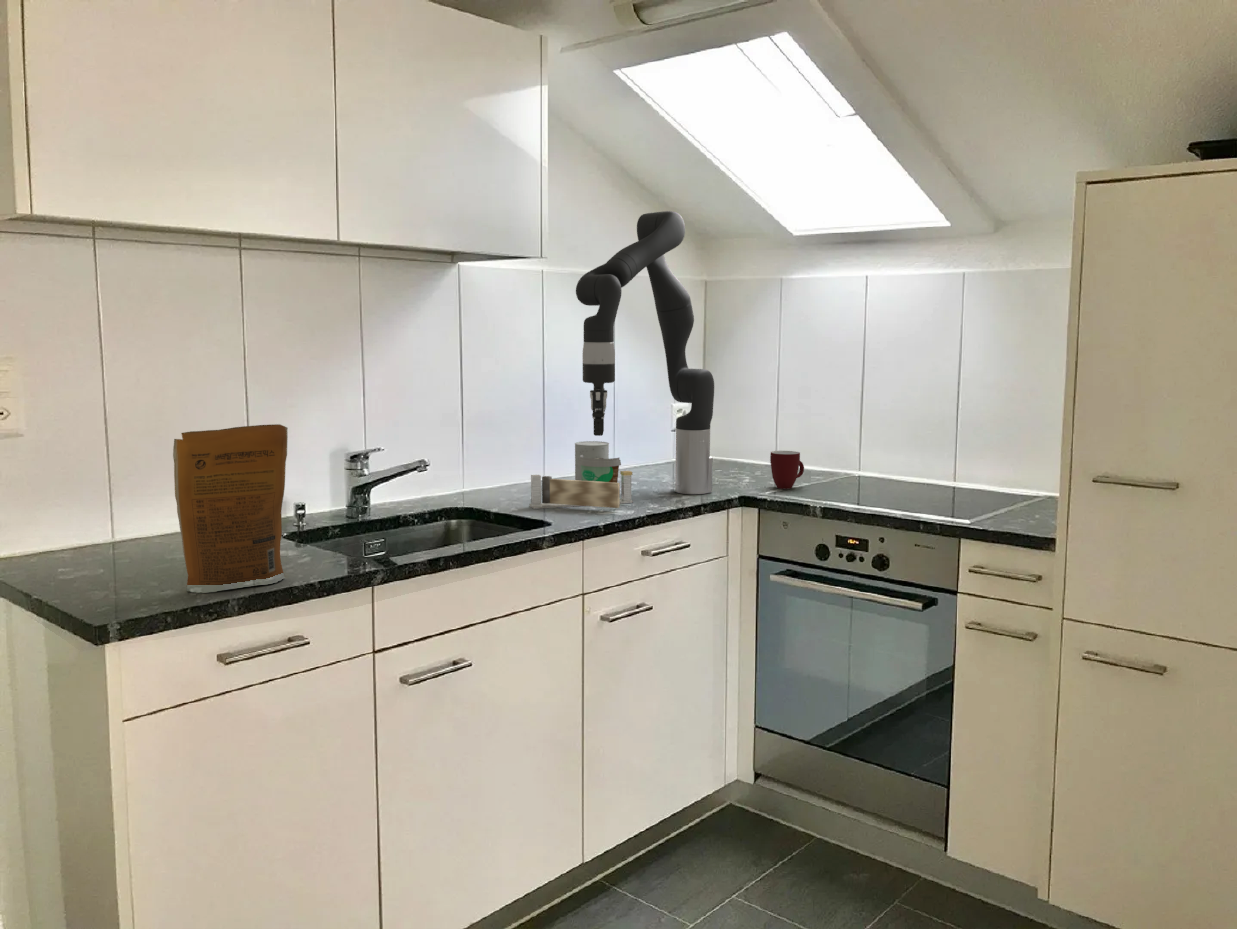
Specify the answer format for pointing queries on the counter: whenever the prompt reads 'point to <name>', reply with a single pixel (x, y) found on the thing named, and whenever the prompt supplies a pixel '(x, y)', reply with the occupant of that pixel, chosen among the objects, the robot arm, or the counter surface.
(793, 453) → the mug
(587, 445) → the grey cylindrical canister
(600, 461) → the food container
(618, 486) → the gate
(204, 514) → the pancake mix bag
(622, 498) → the gate frame
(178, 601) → the counter surface
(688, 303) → the robot arm
